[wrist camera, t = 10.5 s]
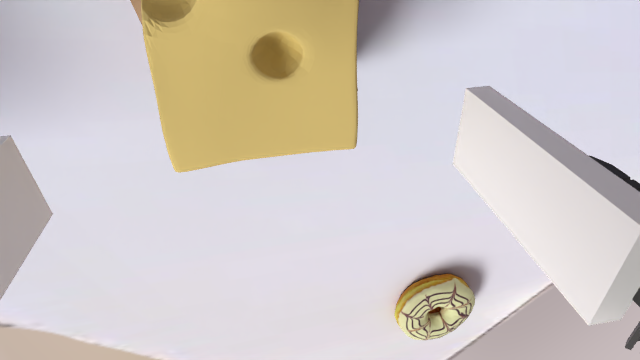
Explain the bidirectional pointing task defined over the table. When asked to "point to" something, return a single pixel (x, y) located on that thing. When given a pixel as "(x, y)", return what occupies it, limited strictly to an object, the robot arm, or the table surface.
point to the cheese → (252, 77)
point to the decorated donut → (434, 306)
